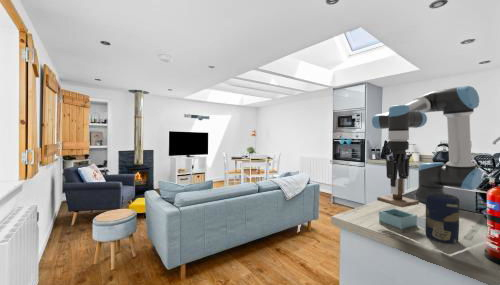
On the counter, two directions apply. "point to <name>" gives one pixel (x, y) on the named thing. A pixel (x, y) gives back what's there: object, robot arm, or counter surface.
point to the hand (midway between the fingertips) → (397, 193)
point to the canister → (442, 217)
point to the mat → (421, 222)
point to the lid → (398, 197)
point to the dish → (398, 218)
